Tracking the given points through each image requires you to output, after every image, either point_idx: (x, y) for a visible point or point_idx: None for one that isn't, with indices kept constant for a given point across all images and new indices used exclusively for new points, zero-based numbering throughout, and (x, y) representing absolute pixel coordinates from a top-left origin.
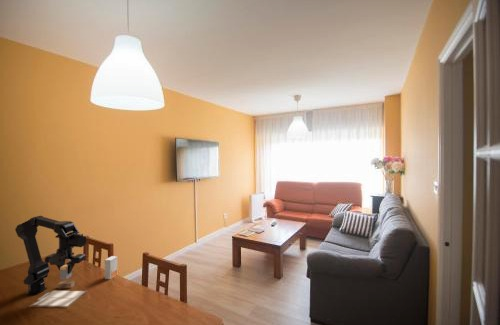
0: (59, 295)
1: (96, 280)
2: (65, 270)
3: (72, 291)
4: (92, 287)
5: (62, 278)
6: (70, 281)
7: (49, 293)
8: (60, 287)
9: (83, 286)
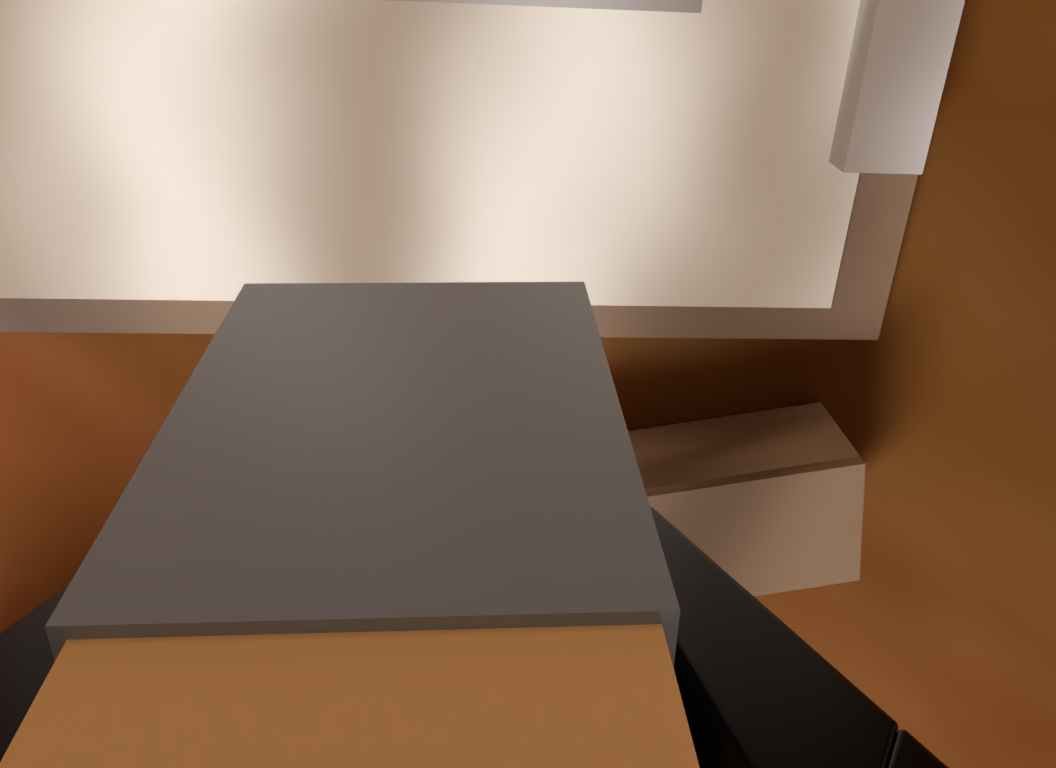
0: (538, 104)
1: None
2: (151, 586)
3: None
4: (11, 482)
5: (443, 294)
6: None
7: (849, 142)
8: (769, 425)
9: None
